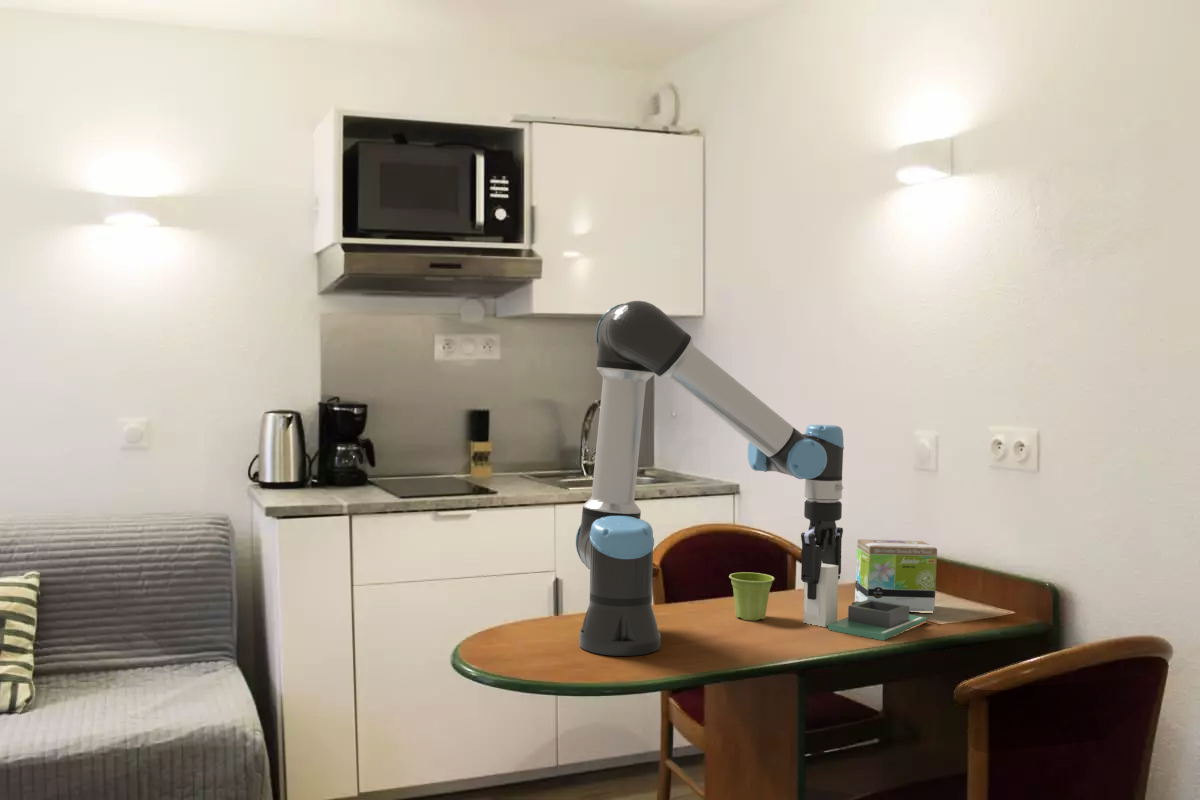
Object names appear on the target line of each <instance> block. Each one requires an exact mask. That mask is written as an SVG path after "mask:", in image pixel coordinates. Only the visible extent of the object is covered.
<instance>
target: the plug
mask: <svg viewBox="0 0 1200 800" xmlns="http://www.w3.org/2000/svg"><path fill="white" fill-rule="evenodd" d="M819 584H821V610H820V616H815V615H810V614H807V585H808V584H807V583H806V582H803V589H804V590H803V623H802V624H804V623H807V624H806V625H810V624H812V625H811V626H815V625H818V626H817V627H820V626H822V628H828V627H827V626H828V624H830V623H833V622H836V621H838V599H839V598H838V597H839V596H838V595H839V580H838V565H832V564H825V563H822V564H821V570H820V577H819Z"/></svg>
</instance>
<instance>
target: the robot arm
mask: <svg viewBox="0 0 1200 800" xmlns="http://www.w3.org/2000/svg"><path fill="white" fill-rule="evenodd" d="M595 342H596V346H597V349H598V350H597V357H596V358H597V359H596V370H597V371H598V373H599V374H600V375H601V376H602V387H601V395H600V396H601V398H600V405H599V406H600V407H599V417H598V427H597V436H596V438H597V439H596V447H595V448H596V449H595V458H594V468H593V477H592V487H591V488H592V489H591V497H590V498H589V499H588V500H587V501H586V502H585V503H584V504H582V513H581V521H580V522H581V523H580V525H579V527H578V528H577V532H576V536H575V548H576V552H577V556H578V557H579V559H580V560H581V563H583V564H584V565H585V567H586V568H587V569H588V570H589V603H588V604H589V605H588V608H587V611H586V613H585V616H584V619H583V623H582V626H581V628H580V631H579V637H578V638H579V644H578V645H579V647H580V648H581V649H583V650H585V651H587V652H591V653H593V654H599V655H606V656H614V657H618V656H619V657H621V656H622V657H624V656H625V657H627V656H628V657H630V656H631V657H632V656H633V657H634V656H642V655H647V654H652V653H654V652H656V651H658V650H660V648H661V632H660V630H659V628H658V627H659V626H658V622H657V619H656V615H655V612H654V609H653V575H654V574H653V569H654V567H653V566H654V564H653V563H654V562H653V561H654V547H655V540H654V539H655V537H654V531H653V530H654V529H653V527H652V525H651V524H650V523H649V522H647V521H646V520H645V519H641V512H642V511H641V508H640V507H639V506H638V505H637V503H636V502H635V497H636V485H637V475H638V465H639V458H640V457H639V455H640V447H641V438H642V437H641V436H642V426H643V425H642V424H643V418H644V417H643V415H644V405H645V395H646V384H647V382H648V381H649V380H650V379H651V378H653V376H654V375H657V376H658V377H659V378H663V377H664V378H665V377H666V378H667V377H668V378H669V379H670V380H671V381H673V382H674V383H675V384H676V385H678V386H679V387H680V388H682V389H683V390H684V391H685V392H686V393H687V394H689V395H690V396H692V397H693V398H694V399H695V400H696V401H698V402H699V403H700V404H701V405H703V406H704V407H705V408H706V409H708V410H709V411H710V412H712V413H713V414H714V415H716V416H717V418H719V419H720V420H722V421H723V422H724V423H725V424H726V425H728V426H729V427H730V428H731V429H732V430H734V431H735V432H737V434H739V435H741V437H743V438H744V439H745V440H746V441H748V445H747V446H748V447H747V460H748V464H749V466H750V468H751V469H752V470H753V471H755V472H765V473H767V472H777V473H780V474H784V475H787V476H790V477H794V478H796V479H798V480H804V497H805V499H806V500H805V501H804V506H803V507H804V509H803V510H804V511H803V512H804V513H803V515H804V518H805V519H807V520H809V526H808V531H806V532H801V534H800V538H801V539H800V541H801V568H800V569H801V572H800V574H801V577H800V579H801V581H802V582H803V583H804V582H806V583H807V584H808V585H807V614H810V615H815V616H820V610H821V584H819V577H820V570H821V564H822V563H825V564H832V565H838V581H839V580H840V579H841V573H842V542H843V541H842V539H843V534H844V528H843V527H837V524H836V522H838V521H840V520H841V519H842V517H843V516H842V511H843V508H842V507H843V506H842V505H843V503H842V502H841V501H840V500H842V498H843V496H842V495H843V494H842V493H843V489H844V486H843V462H844V450H845V447H844V446H845V445H844V433H843V432H844V430H843V429H842V427H841V426H839V425H836V424H835V425H834V424H833V425H832V424H830V425H829V424H809V425H807V426H806V428H805V432H804V434H803V433H801V432H800V431H799V430H798V429H796V428H795V427H793V425H792V424H790V423H789V422H788V421H787V420H786V419H784V418H783V417H782V416H780V414H778V413H777V412H775V411H774V410H773V409H772V408H771V407H769V405H767V404H766V403H765V402H764V401H762V400H761V399H760V398H758V396H756V395H755V394H754V393H753V392H751V391H750V390H749V389H747V387H745V386H744V385H743V384H741V383H740V382H739V381H738V380H736V378H734V377H733V376H731V375H730V374H729V373H728V372H726V370H724V369H723V368H721V366H719V365H718V364H717V363H716V362H715V361H714V360H712V359H711V358H709V357H708V356H707V355H706V354H705V353H703V352H702V351H701V350H700V349H699V348H697V347H696V346H695V345H694V343H693V342H694V341H693V337H692V336H691V335H690V334H689V333H688V332H686V331H685V330H684V329H683V328H682V327H681V326H680V325H679V324H677V322H675V321H674V320H673V319H672V318H670V317H669V315H668V314H666V313H665V312H663V310H661V309H660V308H659V307H657V306H655V304H653V303H651V302H648V301H643V300H633V301H628V302H625V303H620V304H617V305H614V306H612V307H611V308H609V309H608V310H607V311H606V312H605V313H604V314H603V315H602V316H601V318H600V319H599V321H598V323H597V326H596V330H595ZM651 652H652V653H651Z"/></svg>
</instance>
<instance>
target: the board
mask: <svg viewBox="0 0 1200 800" xmlns="http://www.w3.org/2000/svg"><path fill="white" fill-rule="evenodd" d="M847 616H848V617H844V618H842V619H839V620H837V621H836V622H833V623H830V624H828V627H827V628H828V631H831V630H832V632H836V631H837V632H836V633H841V632H842V633H841V634H846V633H848V634H847V635H851V634H852V636H856V635H857V636H858V637H861V636H863V638H866V639H867V638H868V639H872V638H873V640H877V639H878V640H877V641H882V640H883V642H885V641H887V640H889V639H888V638H890V637H892V638H894V637H893V636H894V635H897V634H899V633H901V632H903V631H905V630H907V629H910V628H911V627H913V626H916V625H918V624H920V623H922V622H924V621H926V620H927V621H928V617H926V616H920V615H916V614H915V615H914V614H910V613H909V606H905V605H899V604H893V603H887V602H881V601H875V600H869V599H868V600H865V601H862V602H858V601H856V602H855V601H853V602H851V605H848V611H847ZM897 636H898V635H897ZM886 639H887V640H886ZM890 639H891V638H890Z"/></svg>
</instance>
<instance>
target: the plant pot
mask: <svg viewBox="0 0 1200 800" xmlns="http://www.w3.org/2000/svg"><path fill="white" fill-rule="evenodd" d="M728 578H729V579H730V580H731V581H730V582H731V585H732V589H733V590H732V591H733V600H734V601H733V602H734V611H735V617H736V618H737V619H742V620H744V621H758V620H765V618H766V615H767V608H768V602H769V596H770V590H771V588H772V584H773V582H774V581H775V577H774V576H772V575H770V574H766V573H760V572H745V571H744V572H743V571H742V572H734V573H730V574H729V576H728Z"/></svg>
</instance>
